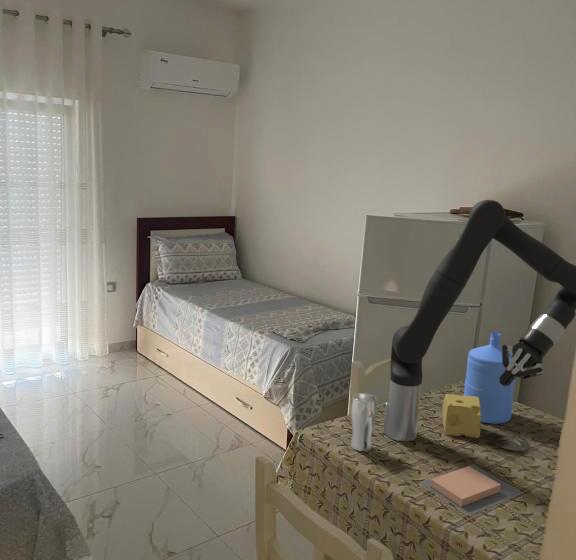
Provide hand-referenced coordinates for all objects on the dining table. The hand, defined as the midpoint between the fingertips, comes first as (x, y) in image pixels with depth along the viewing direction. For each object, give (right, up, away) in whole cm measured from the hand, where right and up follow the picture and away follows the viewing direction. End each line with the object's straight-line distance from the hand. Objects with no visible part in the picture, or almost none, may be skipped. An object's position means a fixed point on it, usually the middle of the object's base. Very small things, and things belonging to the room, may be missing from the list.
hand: (502, 384), depth 154 cm
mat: (-11, -25, -10) cm, 29 cm away
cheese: (-4, -19, +24) cm, 31 cm away
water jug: (+8, -17, +37) cm, 42 cm away
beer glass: (-37, -20, +10) cm, 43 cm away
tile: (-7, -23, -7) cm, 25 cm away
